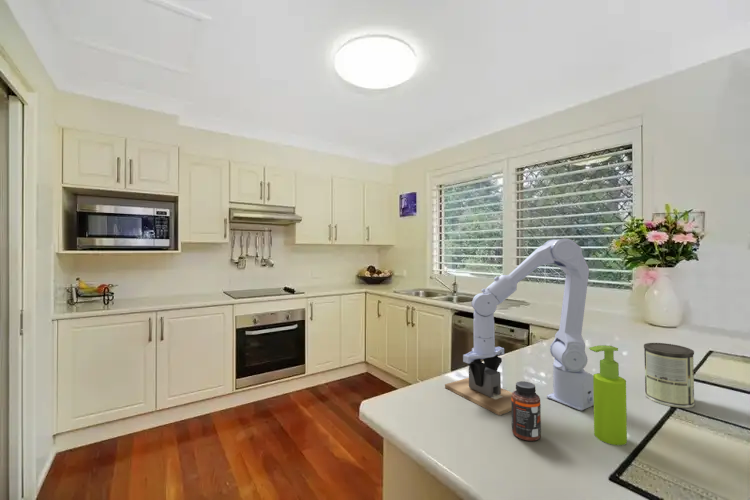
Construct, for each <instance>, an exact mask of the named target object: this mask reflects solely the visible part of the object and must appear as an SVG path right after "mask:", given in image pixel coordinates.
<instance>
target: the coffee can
mask: <svg viewBox="0 0 750 500" xmlns="http://www.w3.org/2000/svg"><path fill="white" fill-rule="evenodd" d="M643 349H644V386H645V387H644V389H645V390H644V395H645V397H646V398H648V399H649V401H652V402H655V403H657V404H659V405H660V404H661V405H663V406H668V407H673V408H679V409H681V408H682V409H691V408H693V407H695V404H696V403H695V381H694V379H695V377H694V371H695V370H694V369H695V368H694V364H695V363H694V355H695V351H694V350H693V349H691V348H689V347H687V346H683V345H678V344H673V343H672V344H671V343H666V342H665V343H663V342H647V343H644V344H643Z"/></svg>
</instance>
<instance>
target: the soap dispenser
mask: <svg viewBox="0 0 750 500" xmlns="http://www.w3.org/2000/svg"><path fill="white" fill-rule="evenodd" d="M588 350H589V351H592V352H595V353H598V352H599V353H600V352H603V353H604V354H603V355H604V356H603V359H600V360H599V372H598V373H594V374H592V375H593V391H594V405H593V434H594V436H595V438H597V439H598V440H599V441H602V442H603V443H605V444H608V445H613V446H625V445H626V444H627V443H628V429H627V427H628V424H627V423H628V421H627V417H628V416H627V381H626V379H625V378H623V377H622V376H620V374H619V373H620V372H619V371H620V370H619V369H620V368H619V362H618V361H616V360H615V358H614V357H615V356H614V355H615V353H614V352H615V351H616V352H618V351H619V347H615V346H614V345H613V346H612V345H606V344H604V345H601V344H600V345H595V346H591V347H589V348H588Z"/></svg>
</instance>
